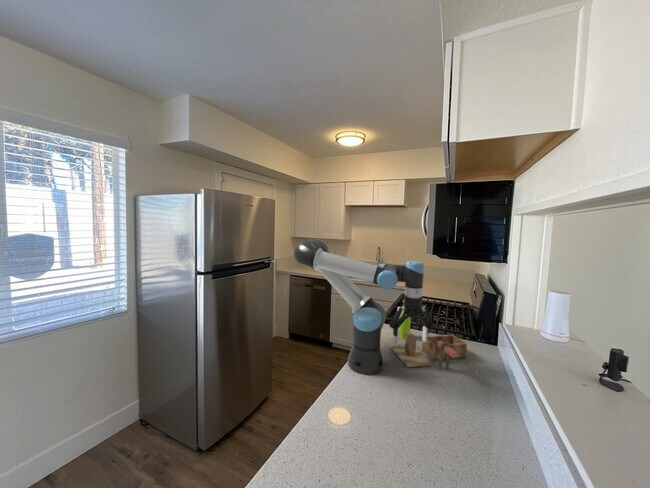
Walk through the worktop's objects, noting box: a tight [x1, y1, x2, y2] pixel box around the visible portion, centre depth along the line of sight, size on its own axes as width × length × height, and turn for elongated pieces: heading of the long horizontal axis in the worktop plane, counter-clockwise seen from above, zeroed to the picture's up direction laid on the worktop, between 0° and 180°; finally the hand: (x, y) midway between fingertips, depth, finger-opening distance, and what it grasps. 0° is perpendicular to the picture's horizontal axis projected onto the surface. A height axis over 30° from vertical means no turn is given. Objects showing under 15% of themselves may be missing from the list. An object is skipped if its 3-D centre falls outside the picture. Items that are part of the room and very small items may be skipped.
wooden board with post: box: [391, 331, 432, 368], centre depth 124 cm, size 17×11×11 cm, turn 10°
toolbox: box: [421, 334, 468, 371], centre depth 124 cm, size 18×17×12 cm
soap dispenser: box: [398, 299, 412, 340], centre depth 145 cm, size 6×7×20 cm
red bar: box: [437, 341, 458, 358], centre depth 114 cm, size 2×11×2 cm, turn 10°
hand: (410, 342), depth 124 cm, fingers open, 13 cm apart
